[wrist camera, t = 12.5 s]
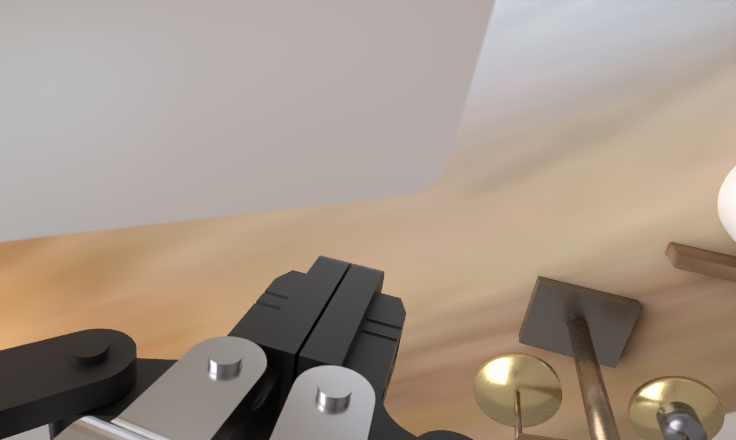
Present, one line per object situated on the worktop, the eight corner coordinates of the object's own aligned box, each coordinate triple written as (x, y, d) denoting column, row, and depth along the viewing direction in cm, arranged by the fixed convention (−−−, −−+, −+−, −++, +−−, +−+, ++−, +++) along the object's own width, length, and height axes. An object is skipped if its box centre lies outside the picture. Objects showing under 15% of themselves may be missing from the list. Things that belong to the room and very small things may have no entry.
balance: (489, 264, 44) (483, 399, 29) (690, 313, 42) (802, 490, 26) (472, 322, 47) (459, 476, 31) (662, 372, 44) (749, 566, 29)
